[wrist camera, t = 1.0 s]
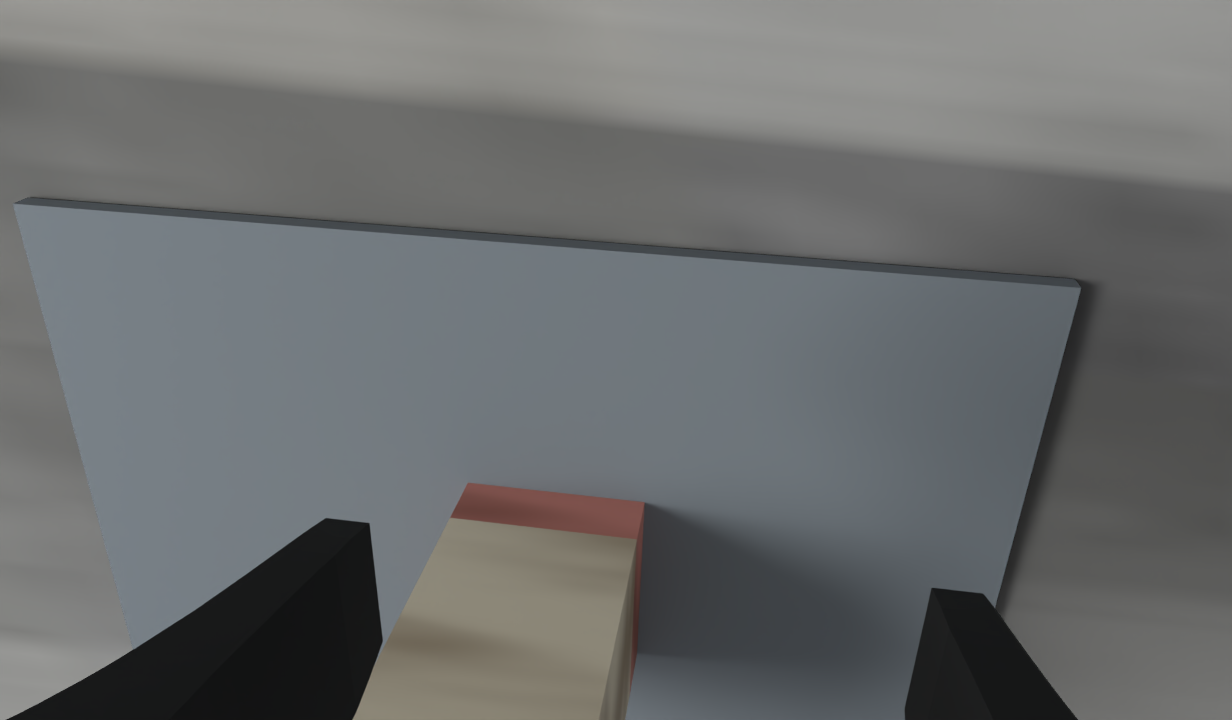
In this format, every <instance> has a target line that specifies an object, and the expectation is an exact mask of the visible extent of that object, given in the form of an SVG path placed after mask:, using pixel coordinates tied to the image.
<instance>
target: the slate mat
mask: <svg viewBox="0 0 1232 720" xmlns="http://www.w3.org/2000/svg"><path fill="white" fill-rule="evenodd" d="M13 206H14V210H15V213H16V217H17V221H18V225H19V228H20V232H21V236H22V239H23V243H24V247H25V250H26V254H27V258H28V262H29V265H30V269H31V273H32V276H33V280H34V284H35V288H36V291H37V295H38V299H39V302H40V306H41V310H42V314H43V317H44V321H45V325H46V328H47V332H48V336H49V339H50V343H51V347H52V351H53V354H54V358H55V362H56V365H57V369H58V373H59V377H60V380H61V384H62V388H63V391H64V395H65V399H66V402H67V406H68V410H69V414H70V417H71V421H72V425H73V428H74V432H75V436H76V440H77V443H78V447H79V451H80V454H81V458H82V462H83V466H84V469H85V473H86V477H87V480H88V484H89V488H90V491H91V495H92V499H93V503H94V506H95V510H96V514H97V517H98V521H99V525H100V529H101V532H102V536H103V540H104V543H105V547H106V551H107V555H108V558H109V562H110V566H111V569H112V573H113V577H114V580H115V584H116V588H117V592H118V595H119V599H120V603H121V606H122V610H123V614H124V618H125V621H126V625H127V629H128V632H129V636H130V640H131V644H132V647H133V649H135V648H137V647H138V646H140V645H141V644H143V643H144V642H146V641H148V640H149V639H151V638H152V637H154V636H155V635H157V634H158V633H160V632H162V631H163V630H165V629H166V628H168V627H169V626H171V625H172V624H174V623H176V622H177V621H179V620H180V619H182V618H183V617H185V616H186V615H188V614H190V613H191V612H193V611H194V610H196V609H197V608H199V607H200V606H202V605H203V604H204V603H206V602H207V601H209V600H210V599H212V598H213V597H214V596H216V595H217V594H219V593H220V592H222V591H223V590H224V589H226V588H227V587H229V586H230V585H231V584H233V583H234V582H236V581H237V580H239V579H240V578H241V577H243V576H244V575H246V574H247V573H249V572H250V571H251V570H253V569H254V568H256V567H257V566H258V565H260V564H261V563H263V562H264V561H265V560H267V559H268V558H269V557H271V556H272V555H274V554H275V553H276V552H278V551H279V550H281V549H282V548H283V547H285V546H286V545H287V544H289V543H290V542H292V541H293V540H294V539H296V538H297V537H299V536H300V535H301V534H303V533H304V532H306V531H307V530H309V529H310V528H311V527H313V526H314V525H316V524H317V523H319V522H320V521H322V520H323V519H325V518H331V519H339V520H348V521H357V522H365V523H370V532H371V540H372V549H373V558H374V567H375V576H376V584H377V593H378V602H379V611H380V619H381V628H382V637H383V642H382V645H381V648H380V651H379V654H378V656H377V659H378V657H379V655H380V653H381V652H382V650H383V648H384V646H385V644H386V642H387V640H388V638H389V636H390V634H391V632H392V630H393V628H394V626H395V624H396V622H397V620H398V618H399V616H400V614H401V612H402V611H403V609H404V607H405V605H406V603H407V601H408V599H409V597H410V595H411V593H412V591H413V589H414V587H415V585H416V583H417V581H418V579H419V577H420V575H421V573H422V571H423V569H424V568H425V566H426V564H427V562H428V560H429V558H430V556H431V554H432V552H433V550H434V548H435V546H436V544H437V542H438V540H439V538H440V536H441V534H442V532H443V530H444V528H445V527H446V525H447V523H448V521H449V519H450V517H451V515H452V513H453V511H454V509H455V507H456V505H457V503H458V501H459V499H460V497H461V495H462V493H463V491H464V489H465V487H466V485H467V484H468V483H475V484H485V485H494V486H503V487H512V488H521V489H530V490H539V491H548V492H557V493H566V494H575V495H584V496H593V497H602V498H611V499H620V500H629V501H638V502H645V505H644V524H643V544H642V564H641V584H640V604H639V624H638V644H637V657H636V662H635V668H634V674H633V679H632V685H631V690H630V696H629V701H628V707H627V713H626V718H625V720H905V711H904V709H905V704H906V700H907V695H908V691H909V686H910V682H911V677H912V673H913V668H914V664H915V660H916V655H917V651H918V646H919V642H920V637H921V633H922V628H923V624H924V619H925V615H926V610H927V606H928V602H929V597H930V593H931V588H940V589H949V590H957V591H966V592H975V593H983V594H984V595H985V596H986V597H987V599H988V600H989V601H990V602H991V604H992V605H993V607H994V608H995V606H996V602H997V599H998V595H999V591H1000V587H1001V584H1002V580H1003V576H1004V573H1005V569H1006V565H1007V561H1008V558H1009V554H1010V550H1011V547H1012V543H1013V539H1014V536H1015V532H1016V528H1017V524H1018V521H1019V517H1020V513H1021V510H1022V506H1023V502H1024V499H1025V495H1026V491H1027V487H1028V484H1029V480H1030V476H1031V473H1032V469H1033V465H1034V461H1035V458H1036V454H1037V450H1038V447H1039V443H1040V439H1041V436H1042V432H1043V428H1044V424H1045V421H1046V417H1047V413H1048V410H1049V406H1050V402H1051V398H1052V395H1053V391H1054V387H1055V384H1056V380H1057V376H1058V373H1059V369H1060V365H1061V361H1062V358H1063V354H1064V350H1065V347H1066V343H1067V339H1068V336H1069V332H1070V328H1071V324H1072V321H1073V317H1074V313H1075V310H1076V306H1077V302H1078V298H1079V295H1080V291H1081V287H1080V286H1079V284H1078V283H1077V282H1076V280H1075V279H1068V278H1055V277H1043V276H1030V275H1017V274H1004V273H991V272H978V271H966V270H953V269H940V268H927V267H914V266H901V265H888V264H876V263H863V262H850V261H837V260H824V259H811V258H799V257H786V256H773V255H760V254H747V253H734V252H721V251H709V250H696V249H683V248H670V247H657V246H644V245H632V244H619V243H606V242H593V241H580V240H567V239H555V238H542V237H529V236H516V235H503V234H490V233H477V232H465V231H452V230H439V229H426V228H413V227H400V226H388V225H375V224H362V223H349V222H336V221H323V220H310V219H298V218H285V217H272V216H259V215H246V214H233V213H221V212H208V211H195V210H182V209H169V208H156V207H144V206H131V205H118V204H105V203H92V202H79V201H66V200H54V199H41V198H25V199H23V200H21V201H18V202H16V203H13ZM377 659H376V661H377ZM375 663H376V662H375Z"/></svg>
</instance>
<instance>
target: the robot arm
mask: <svg viewBox="0 0 1232 720" xmlns="http://www.w3.org/2000/svg"><path fill="white" fill-rule="evenodd" d="M382 642H383V637H382V628H381V619H380V611H379V602H378V593H377V584H376V576H375V567H374V558H373V549H372V540H371V532H370V523H365V522H357V521H348V520H339V519H331V518H325V519H323V520H322V521H320V522H319V523H317V524H316V525H314V526H313V527H311V528H310V529H309V530H307V531H306V532H304V533H303V534H301V535H300V536H299V537H297V538H296V539H294V540H293V541H292V542H290V543H289V544H287V545H286V546H285V547H283V548H282V549H281V550H279V551H278V552H276V553H275V554H274V555H272V556H271V557H269V558H268V559H267V560H265V561H264V562H263V563H261V564H260V565H258V566H257V567H256V568H254V569H253V570H251V571H250V572H249V573H247V574H246V575H244V576H243V577H241V578H240V579H239V580H237V581H236V582H234V583H233V584H231V585H230V586H229V587H227V588H226V589H224V590H223V591H222V592H220V593H219V594H217V595H216V596H214V597H213V598H212V599H210V600H209V601H207V602H206V603H204V604H203V605H202V606H200V607H199V608H197V609H196V610H194V611H193V612H191V613H190V614H188V615H186V616H185V617H183V618H182V619H180V620H179V621H177V622H176V623H174V624H172V625H171V626H169V627H168V628H166V629H165V630H163V631H162V632H160V633H158V634H157V635H155V636H154V637H152V638H151V639H149V640H148V641H146V642H144V643H143V644H141V645H140V646H138V647H137V648H135V649H133V650H132V651H130V652H129V653H127V654H126V655H124V656H122V657H121V658H119V659H117V660H116V661H114V662H112V663H111V664H109V665H107V666H106V667H104V668H102V669H101V670H99V671H97V672H95V673H94V674H92V675H90V676H88V677H87V678H85V679H83V680H81V681H80V682H78V683H76V684H74V685H72V686H70V687H68V688H67V689H65V690H63V691H61V692H59V693H57V694H55V695H54V696H52V697H50V698H48V699H46V700H44V701H43V702H41V703H39V704H37V705H35V706H33V707H31V708H29V709H27V710H25V711H23V712H21V713H19V714H17V715H15V716H13V717H11V718H9V719H7V720H353V718H354V716H355V714H356V712H357V709H358V707H359V704H360V702H361V699H362V696H363V694H364V691H365V689H366V686H367V684H368V681H369V678H370V676H371V673H372V670H373V667H374V665H375V662H376V659H377V656H378V654H379V651H380V648H381V645H382ZM904 711H905V720H1078V719H1077V718H1076V717H1075V715H1074V714H1073V713H1072V712H1071V710H1070V709H1069V708H1068V707H1067V705H1066V704H1065V703H1064V702H1063V700H1062V699H1061V698H1060V696H1059V695H1058V694H1057V693H1056V691H1055V690H1054V689H1053V687H1052V686H1051V685H1050V683H1049V682H1048V681H1047V679H1046V678H1045V677H1044V675H1043V674H1042V673H1041V671H1040V670H1039V669H1038V667H1037V666H1036V665H1035V663H1034V662H1033V660H1032V659H1031V658H1030V656H1029V655H1028V654H1027V652H1026V651H1025V650H1024V648H1023V647H1022V645H1021V644H1020V643H1019V641H1018V640H1017V639H1016V637H1015V636H1014V634H1013V633H1012V632H1011V630H1010V629H1009V627H1008V626H1007V625H1006V623H1005V622H1004V620H1003V619H1002V618H1001V616H1000V615H999V613H998V612H997V611H996V609H995V608H994V607H993V605H992V604H991V602H990V601H989V600H988V599H987V597H986V596H985V595H984V594H983V593H975V592H966V591H957V590H949V589H940V588H931V593H930V597H929V602H928V606H927V610H926V615H925V619H924V624H923V628H922V633H921V637H920V642H919V646H918V651H917V655H916V660H915V664H914V668H913V673H912V677H911V682H910V686H909V691H908V695H907V700H906V704H905V709H904Z"/></svg>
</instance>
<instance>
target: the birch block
mask: <svg viewBox="0 0 1232 720" xmlns="http://www.w3.org/2000/svg"><path fill="white" fill-rule="evenodd" d="M644 505H645V502H638V501H629V500H620V499H611V498H602V497H593V496H584V495H575V494H566V493H557V492H548V491H539V490H530V489H521V488H512V487H503V486H494V485H485V484H475V483H468V484H467V485H466V487H465V489H464V491H463V493H462V495H461V497H460V499H459V501H458V503H457V505H456V507H455V509H454V511H453V513H452V515H451V517H450V519H449V521H448V523H447V525H446V527H445V528H444V530H443V532H442V534H441V536H440V538H439V540H438V542H437V544H436V546H435V548H434V550H433V552H432V554H431V556H430V558H429V560H428V562H427V564H426V566H425V568H424V569H423V571H422V573H421V575H420V577H419V579H418V581H417V583H416V585H415V587H414V589H413V591H412V593H411V595H410V597H409V599H408V601H407V603H406V605H405V607H404V609H403V611H402V612H401V614H400V616H399V618H398V620H397V622H396V624H395V626H394V628H393V630H392V632H391V634H390V636H389V638H388V640H387V642H386V644H385V646H384V648H383V650H382V652H381V653H380V655H379V657H378V659H377V661H376V663H375V665H374V667H373V670H372V673H371V676H370V678H369V681H368V684H367V686H366V689H365V691H364V694H363V696H362V699H361V702H360V704H359V707H358V709H357V712H356V714H355V716H354V718H353V720H625V718H626V713H627V707H628V701H629V696H630V690H631V685H632V679H633V674H634V668H635V662H636V657H637V644H638V624H639V604H640V584H641V564H642V544H643V524H644Z"/></svg>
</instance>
